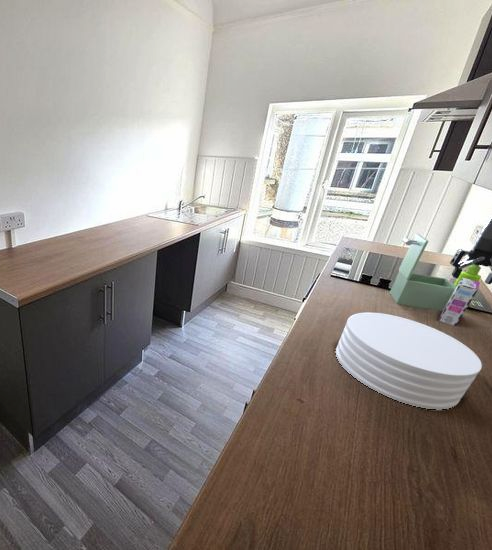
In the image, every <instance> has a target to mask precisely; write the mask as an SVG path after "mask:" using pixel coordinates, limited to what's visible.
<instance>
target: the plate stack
mask: <svg viewBox="0 0 492 550" xmlns="http://www.w3.org/2000/svg"><path fill="white" fill-rule="evenodd" d="M335 350H336V351H334V354H335V353H336V355H335V358H336V357H337V358H336V360H337V359H338V361H339V362H338V361H337V362H338V364H339V363H340V364H341V365H342V366H341V365H340V364H339V365H340V366H341V368H342V367H343V368H344V369H345V370H346V371H347V372H348V373H349V374H351V375H352V376H353V377H354V378H356V379H357V380H358V381H360V382H361V383H363V384H364V385H366V386H368V387H369V388H371V389H373V390H375V391H377V392H378V393H377V392H376V393H377V394H379V393H381V394H383V395H385V396H387V397H389V398H392V399H394V400H397V401H399V402H398V403H400V402H402V403H401V404H403V403H405V404H404V405H406V404H409V405H412V406H411V407H413V406H416V407H415V408H417V407H421V408H426V409H425V410H427V409H436V410H435V411H443V410H442V409H447V410H450V409H449V408H451V409H453V408H455V407H456V406H458V404H459V403H460V402H461V399H462V398H463V397H464V396H465V394H466V392H467V390H469V388H470V387H471V385H472V384H473V382H474V381H475V379H476V378H477V375H478V374H479V373H480V371H482V368H483V363H482V361H481V359H480V358H479V356H478V355H477V354H476V353H475V352H474V351H473V349H470V348H469V347H468V346H467V345H465V343H464V344H463V343H462V342H461V341H460V340H458V339H456V338H454V337H453V336H451V335H449V334H446V333H445V332H443V331H441V330H438V329H436V328H434V327H432V326H429V325H427V324H423V323H420V322H419V321H415V320H412V319H408V318H405V317H401V316H397V315H392V314H387V313H382V312H371V311H370V312H369V311H368V312H357V313H354V314H352V315H350V316H349V317H348V318H347V320H346V323H345V326H344V328H343V331H342V333H341V335H340V338H339V340H338V343H337V345H336V348H335ZM343 368H342V369H343ZM344 369H343V370H344ZM345 370H344V371H345ZM346 371H345V372H346ZM347 372H346V373H347ZM348 373H347V374H348ZM349 374H348V375H349ZM351 375H350V376H351ZM352 376H351V377H352ZM353 377H352V378H353ZM354 378H353V379H354ZM356 379H355V380H356ZM357 380H356V381H357ZM358 381H357V382H358ZM360 382H359V383H360ZM361 383H360V384H361ZM363 384H362V385H363ZM364 385H363V386H364ZM366 386H365V387H366ZM368 387H367V388H368ZM369 388H368V389H369ZM371 389H370V390H371ZM373 390H372V391H373ZM375 391H374V392H375ZM381 394H380V395H381ZM383 395H382V396H383ZM385 396H384V397H385ZM387 397H386V398H387ZM389 398H388V399H389ZM392 399H391V400H392ZM394 400H393V401H394ZM397 401H396V402H397ZM409 405H408V406H409ZM454 406H455V407H454ZM452 407H453V408H452ZM421 408H420V409H421Z"/></svg>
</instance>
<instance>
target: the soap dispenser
mask: <svg viewBox="0 0 492 550" xmlns="http://www.w3.org/2000/svg"><path fill="white" fill-rule="evenodd" d="M481 269H482V267H481V265H475V264H473V265H471V266H467V269H466V270H465V271H462V272H461V274H460V276H459V277H458V279H456V280H455V282H454V283H453V285H454V286H455V287H457V285H458V284H459V282H460V280H461V279H462V278H466V279H470V280H474V281H478V282H480V280H481V278H482V276H481V275H480V274H479V273H480V271H481Z"/></svg>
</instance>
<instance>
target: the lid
mask: <svg viewBox="0 0 492 550" xmlns="http://www.w3.org/2000/svg"><path fill="white" fill-rule="evenodd" d="M401 241H402V242H403V243H404V244H405V245H406V246H409V248H408V249H407V252H406V253H405V256H404V258H403V260H402V262H401V264H400V266H399V268H398V272H399V271H400V272H401V273H402V274H403V275H404V277H405V278H406V279H408V280H409V279H410V277H411V275H412V273H414V271H415V270H416V268H417V265H418V263H419V261H420V259H421V257H422V255H423V254H424V252H425V250H426V247H427V245H428V244H429V242H430V241H429V240H428V239H426V238H425V237H423V236H422V235H420V234H419V233H415V235H414V237H413V239H410V238H408V237H407V236H406V237H403V238H402V239H401Z"/></svg>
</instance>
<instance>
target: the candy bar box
mask: <svg viewBox="0 0 492 550" xmlns="http://www.w3.org/2000/svg"><path fill="white" fill-rule="evenodd" d="M480 283H481V282H480V281H474V280H470V279H466V278H462V279H461V280H460V282H459V284H458V285H457V287H456V289H455V291H454V292H453V294H452V296H451V297H450V299H449V301H448V303H447V304H446V306H445V308H444V310H443V311H441V314H440V315H439V318H438V321H437V324H439V322H442V323H444V324H447V325H451V326H454V327H456V326H457V325H458V324H459V322H460V320H461V318H462V317H463V315H464V314H465V312H466V311H467V309H468V307H469V306H470V304H471V303H472V301H473V299H474V298H475V296H476V294H477V293H478V292H479V288H480Z"/></svg>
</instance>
